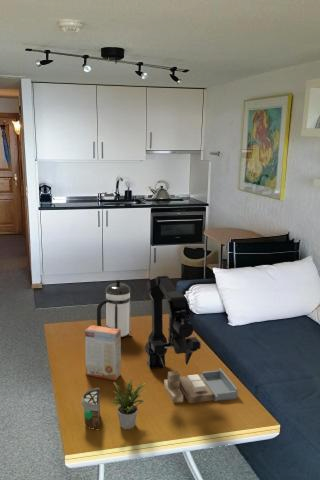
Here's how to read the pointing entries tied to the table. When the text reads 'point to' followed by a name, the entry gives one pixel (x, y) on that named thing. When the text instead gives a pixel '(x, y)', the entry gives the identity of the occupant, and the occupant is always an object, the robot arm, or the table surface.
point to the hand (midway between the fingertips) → (175, 365)
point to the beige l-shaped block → (173, 386)
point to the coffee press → (116, 307)
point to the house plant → (128, 405)
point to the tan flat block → (195, 396)
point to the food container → (91, 407)
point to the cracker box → (103, 352)
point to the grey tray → (220, 385)
